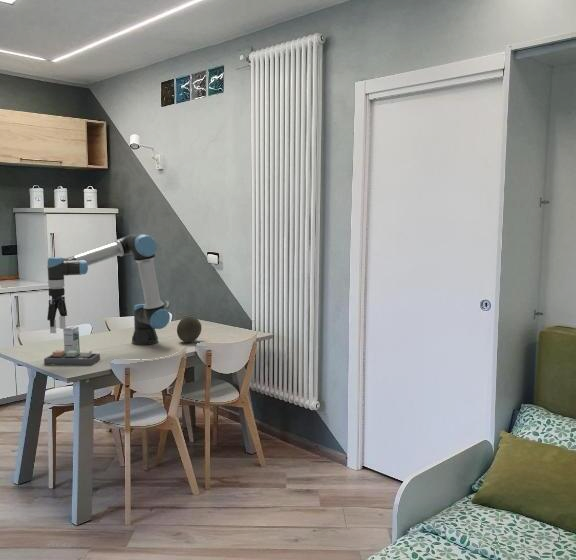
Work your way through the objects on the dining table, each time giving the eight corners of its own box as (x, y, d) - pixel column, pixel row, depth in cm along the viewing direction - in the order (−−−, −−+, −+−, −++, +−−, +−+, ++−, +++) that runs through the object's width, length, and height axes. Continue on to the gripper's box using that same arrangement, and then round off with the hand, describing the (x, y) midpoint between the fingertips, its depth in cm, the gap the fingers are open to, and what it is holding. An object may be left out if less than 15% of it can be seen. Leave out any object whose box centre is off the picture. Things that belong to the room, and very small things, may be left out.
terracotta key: (64, 354, 304) (64, 350, 304) (61, 356, 300) (61, 352, 299) (56, 354, 304) (56, 350, 304) (52, 356, 300) (52, 352, 300)
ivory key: (91, 354, 304) (91, 350, 303) (88, 356, 299) (88, 352, 299) (83, 354, 304) (83, 350, 303) (80, 356, 299) (79, 352, 299)
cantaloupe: (196, 345, 342) (196, 319, 340) (173, 344, 345) (173, 318, 343) (204, 340, 355) (204, 315, 354) (182, 339, 358) (182, 314, 357)
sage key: (78, 354, 304) (78, 350, 304) (75, 356, 299) (74, 352, 299) (69, 354, 304) (69, 350, 304) (66, 356, 300) (66, 352, 299)
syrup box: (73, 354, 318) (72, 328, 316) (64, 354, 319) (63, 327, 318) (79, 352, 323) (79, 326, 322) (70, 351, 325) (69, 325, 323)
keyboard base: (100, 359, 308) (99, 352, 307) (91, 365, 296) (91, 358, 295) (54, 359, 308) (54, 352, 308) (44, 364, 297) (44, 357, 296)
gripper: (58, 285, 310) (60, 326, 312) (38, 290, 287) (40, 335, 289) (72, 285, 310) (74, 326, 312) (53, 290, 286) (55, 335, 289)
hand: (58, 330), depth 301 cm, fingers open, 11 cm apart
